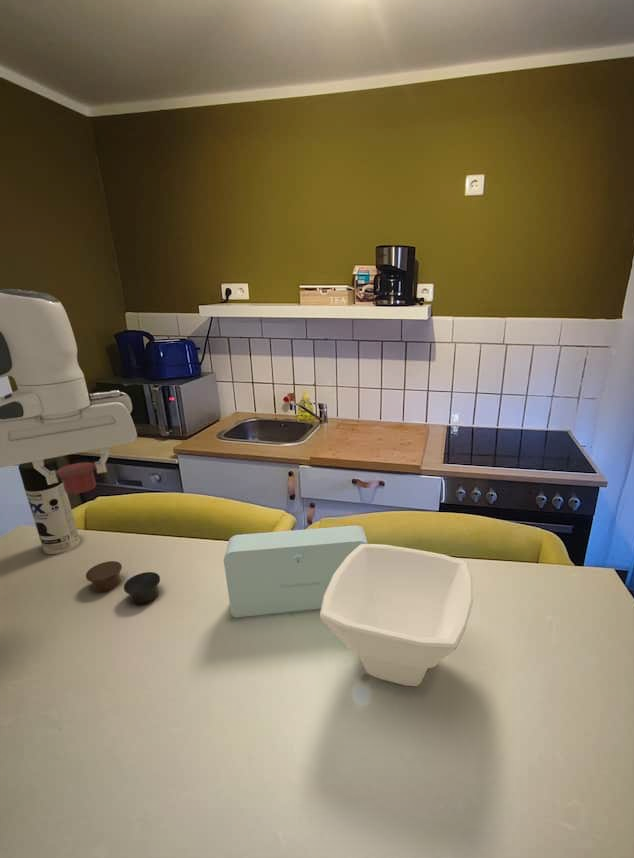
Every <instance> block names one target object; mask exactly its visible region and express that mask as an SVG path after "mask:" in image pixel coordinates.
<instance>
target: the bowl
mask: <svg viewBox="0 0 634 858" xmlns="http://www.w3.org/2000/svg"><path fill="white" fill-rule="evenodd" d="M473 602H474V593H473V577H472V574H471V569H470V567H469V564H468V562H467V561H465V560H462V559H459V558H456V557H453V556H449V555H447V554H443V553H437V552H432V551H426V550H421V549H417V548H416V549H415V548H410V547H409V548H408V547H402V546H396V545H390V544H384V543H383V544H382V543H381V544H380V543H377V544H376V543H368V544H360V545H359V546H358V547H357V548H356V549H355V550H354V551H352V552H351V553H350V554H349V555H348V556H347V557H346V558H345V560H344V561H343V562H342V564H341V565H340V566H339V568H338V569H337V570H336V572H335V573H334V574H333V577H332V579H331V581H330V583H329V585H328V588H327V590H326V592H325V594H324V597H323V602H322V607H321V609H320V613H319V618H320V620H321V621H322V622H323V623H324V624H325V625H326V626H327V627H328V629H330V631H332V632H333V633H334V634H335V636H336V637H337V638H339V640H340V641H341V642H342V643H343V644H344V645H345V646H346V647H347V648H349V649H351V650H353V651H354V652H357V653H358V656H359V659H360V661H361V663H362V666H363V668H364V670H365V673H366V674H368V675H370V676H372V677H374V678H376V679H379V680H383V681H387V682H390V683H394V684H398V685H402V686H405V687H408V686H409V687H418V686H420V684H421V683H422V681H423V679H424V678H425V676H426V673H427V671H428V669H432V668H434V667H436V666H437V665H438V664H439V663H440V662H442V661H443V660H444V659H445V658H447V657H448V656H449V655H450V654H452V653H453V652H454V651H455V650H456V649H457V648H458V646H459V644H460V642H461V640H462V637H463V636H464V634H465V632H466V631H467V627H468V624H469V619H470V615H471V612H472V607H473Z"/></svg>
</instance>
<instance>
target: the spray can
mask: <svg viewBox="0 0 634 858" xmlns="http://www.w3.org/2000/svg"><path fill="white" fill-rule="evenodd" d="M44 467H45V468H46V469H48V470H49V471H54V470H55V471H57V470H58V469H60V468H61V467H60V464H59V460H58V457H54V458H49V459H44ZM17 468H18V471H19V474H20V478H21V482H22V485H23V488H24V493H25V495H26V498H27V502H28V504H29V508H30V511H31V514H32V517H33V521H34V525H35V527H36V531H37V534H38V538H39V540H40V542H41V547H42V550H43V552H44V553H45V554H48V555H57V554H62V553H66V552H68V551H70V550H72V549H75V548H76V547H77V546H78V545H79V543H80V542H81V541H80V536H79V531H78V528H77V524H76V521H75V518H74V513H73V510H72V506H71V503H70V499H69V495H68V493H66V492H65V489H64V486H63V482H62V479H61V478H59V477H57V478H58V483H54V484H50V485H48V484H47V480H46V477H45V476H44V475H43V474H41V473H40V472H39V471H37V470H36V469H35V468H34V466H33V463H32V462H28V463H23V464H18V467H17Z"/></svg>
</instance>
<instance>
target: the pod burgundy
mask: <svg viewBox="0 0 634 858" xmlns="http://www.w3.org/2000/svg"><path fill="white" fill-rule="evenodd" d="M94 471H96V466H95V464H94V462H89V461H88V462H77V463H72V464H68V465H65V466H62V467H60V469H58V470H57V471H56V475H57V477H59V478H61V479H62V482H63V486H64V489H65V492H66V493H67V495H68V494H69V495H77V494H82V493H86V492H89V491H91V490H93V489H95V488H96V487H97V482H96V478H95V474H94Z"/></svg>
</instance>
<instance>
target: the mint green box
mask: <svg viewBox="0 0 634 858" xmlns="http://www.w3.org/2000/svg"><path fill="white" fill-rule="evenodd" d="M360 544H369V543H368V539H367V536H366V533H365V529H364V528H363V527H362V526H360V525H357V524H355V525H343V526H331V527H318V528H306V529H304V528H303V529H296V530H295V529H292V530H280V531H268V532H260V533H259V532H255V533H243V534H235V535H233V536H231V537H230V538H229V540H228V543H227V546H226V550H225V554H224V558H223V566H224V573H225V579H226V586H227V594H228V599H229V601H228V602H229V608H230V613H231V615H232V617H233V618H244V617H253V616H263V615H272V614H281V613H282V614H283V613H291V612H292V613H293V612H300V611H308V610H321V607H322V602H323V597H324V594H325V592H326V590H327V588H328V585H329V583H330V581H331V579H332V577H333V574H334V573H335V572H336V570H337V569H338V568H339V566H340V565H341V564H342V562H343V561H344V560H345V558H346V557H347V556H348V555H349V554H350V553H351V552H352V551H354V550H355V549H356V548H357V547H358V546H359V545H360Z"/></svg>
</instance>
